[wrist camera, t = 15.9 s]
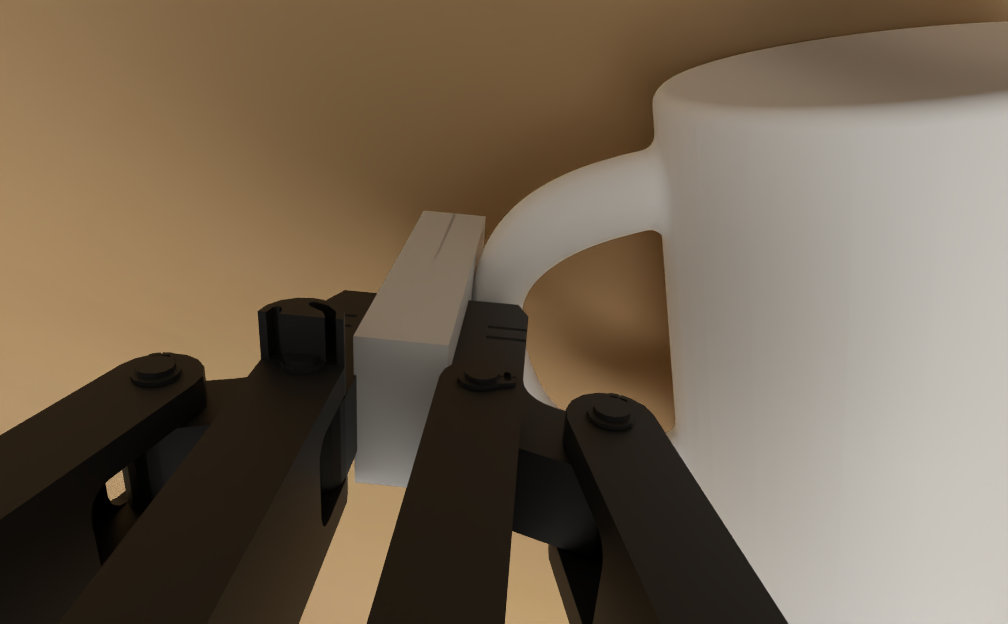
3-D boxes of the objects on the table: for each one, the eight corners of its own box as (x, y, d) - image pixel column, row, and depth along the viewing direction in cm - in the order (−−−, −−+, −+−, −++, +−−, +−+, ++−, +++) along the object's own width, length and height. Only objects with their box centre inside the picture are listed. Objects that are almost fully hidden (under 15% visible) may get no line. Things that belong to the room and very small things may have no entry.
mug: (1006, 8, 16) (1381, 42, 9) (961, 402, 20) (1190, 650, 13) (460, 93, 17) (390, 181, 10) (522, 443, 21) (504, 684, 14)
